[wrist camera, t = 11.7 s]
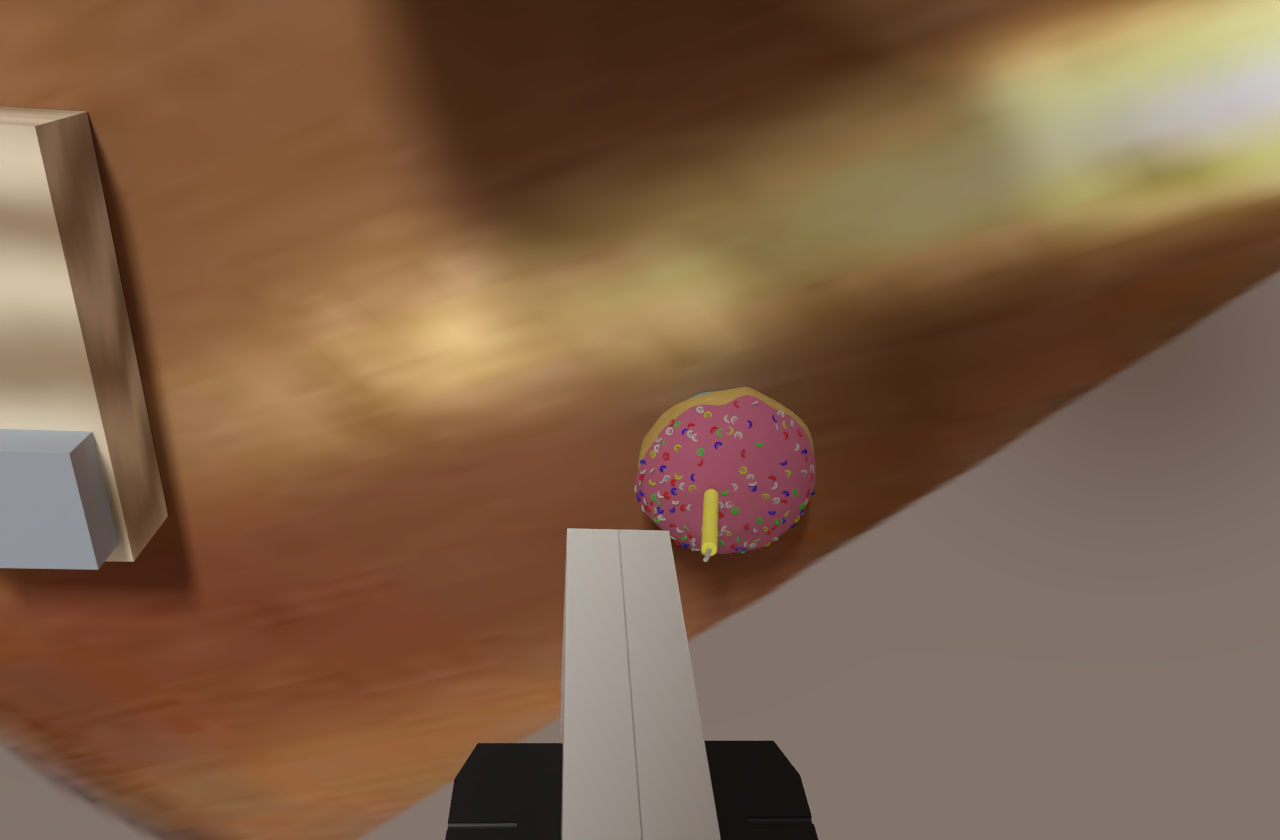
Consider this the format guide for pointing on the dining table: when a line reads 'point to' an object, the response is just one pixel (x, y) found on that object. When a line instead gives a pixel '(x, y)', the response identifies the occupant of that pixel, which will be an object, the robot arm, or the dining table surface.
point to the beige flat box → (71, 314)
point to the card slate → (53, 501)
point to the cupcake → (726, 471)
